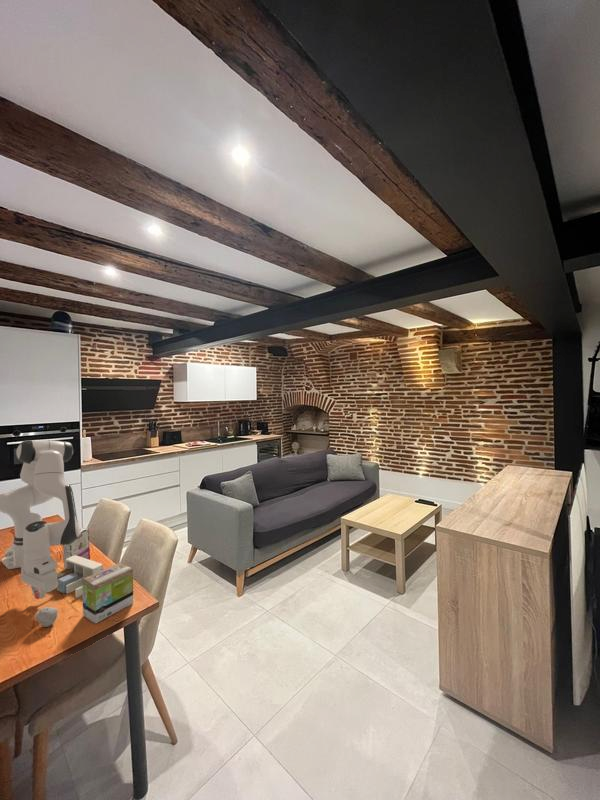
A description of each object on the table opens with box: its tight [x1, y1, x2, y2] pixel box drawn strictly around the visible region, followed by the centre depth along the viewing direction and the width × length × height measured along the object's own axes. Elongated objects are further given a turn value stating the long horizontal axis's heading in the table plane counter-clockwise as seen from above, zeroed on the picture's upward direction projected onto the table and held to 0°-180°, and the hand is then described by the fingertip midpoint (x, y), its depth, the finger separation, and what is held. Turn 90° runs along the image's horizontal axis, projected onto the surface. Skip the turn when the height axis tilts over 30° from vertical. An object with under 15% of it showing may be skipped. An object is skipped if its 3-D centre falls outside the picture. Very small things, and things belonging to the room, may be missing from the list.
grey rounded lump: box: [34, 606, 59, 628], centre depth 126 cm, size 6×7×7 cm
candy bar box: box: [62, 527, 91, 570], centre depth 171 cm, size 11×5×16 cm, turn 168°
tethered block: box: [34, 573, 78, 600], centre depth 146 cm, size 4×16×5 cm, turn 154°
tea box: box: [82, 562, 134, 624], centre depth 135 cm, size 15×10×15 cm, turn 148°
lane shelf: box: [56, 555, 104, 599], centre depth 153 cm, size 21×12×9 cm, turn 63°
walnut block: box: [57, 569, 73, 582], centre depth 155 cm, size 4×6×5 cm
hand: (39, 596), depth 140 cm, fingers closed on tethered block, 3 cm apart
